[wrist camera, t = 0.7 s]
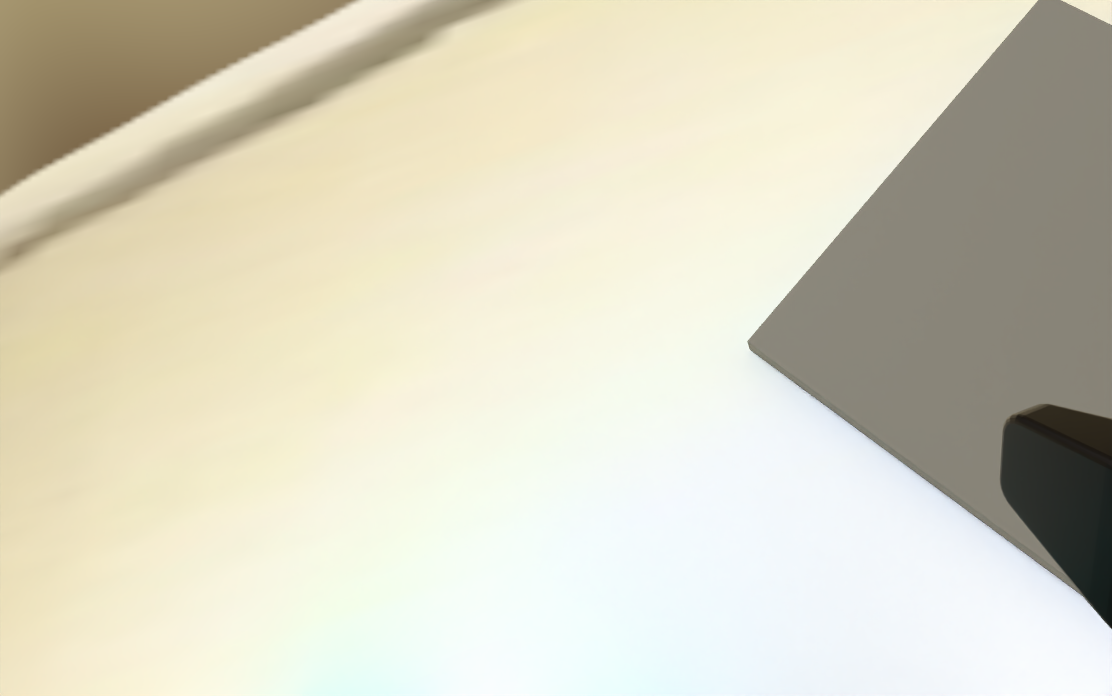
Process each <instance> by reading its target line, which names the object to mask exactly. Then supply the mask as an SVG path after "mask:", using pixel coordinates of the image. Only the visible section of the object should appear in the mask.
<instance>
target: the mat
mask: <svg viewBox="0 0 1112 696" xmlns="http://www.w3.org/2000/svg"><path fill="white" fill-rule="evenodd" d="M748 345H749V349H750V350H751V351H753V352H754V353H755V354H757V355H758V356H759V357H761V358H762V359H763V360H765V361H766V362H767V363H769V364H770V365H771V366H773V367H774V368H776V369H777V370H778V371H780V372H781V373H782V374H784V375H785V376H786V377H788V378H789V379H790V380H792V381H793V382H794V383H796V384H797V385H798V386H800V387H801V388H803V389H804V390H805V391H807V392H808V393H809V394H811V395H812V396H813V397H815V398H816V399H817V400H819V401H820V402H821V403H823V404H824V405H826V406H827V407H828V408H830V409H831V410H832V411H834V412H835V413H836V414H838V415H839V416H840V417H842V418H843V419H844V420H846V421H847V422H848V423H850V424H851V425H853V426H854V427H855V428H857V429H858V430H859V431H861V432H862V433H863V434H865V435H866V436H867V437H869V438H870V439H871V440H873V441H874V442H876V443H877V444H878V445H880V446H881V447H882V448H884V449H885V450H886V451H888V452H889V453H890V454H892V455H893V456H894V457H896V458H897V459H898V460H900V461H901V462H903V463H904V464H905V465H907V466H908V467H909V468H911V469H912V470H913V471H915V472H916V473H917V474H919V475H920V476H921V477H923V478H924V479H926V480H927V481H928V482H930V483H931V484H932V485H934V486H935V487H936V488H938V489H939V490H940V491H942V492H943V493H944V494H946V495H947V496H949V497H950V498H951V499H953V500H954V501H955V502H957V503H958V504H959V505H961V506H962V507H963V508H965V509H966V510H967V511H969V512H970V513H971V514H973V515H974V516H976V517H977V518H978V519H980V520H981V521H982V522H984V523H985V524H986V525H988V526H989V527H990V528H992V529H993V530H994V531H996V532H997V533H999V534H1000V535H1001V536H1003V537H1004V538H1005V539H1007V540H1008V541H1009V542H1011V543H1012V544H1013V545H1015V546H1016V547H1017V548H1019V549H1020V550H1021V551H1023V552H1024V553H1026V554H1027V555H1028V556H1030V557H1031V558H1032V559H1034V560H1035V561H1036V562H1038V563H1039V564H1040V565H1042V566H1043V567H1044V568H1046V569H1047V570H1049V571H1050V572H1051V573H1053V574H1054V575H1055V576H1057V577H1058V578H1059V579H1061V580H1062V581H1063V582H1065V583H1066V584H1067V585H1069V586H1070V587H1071V588H1073V589H1074V590H1076V591H1077V592H1078V593H1080V592H1079V590H1078V589H1077V588H1076V587H1075V586H1074V584H1073V583H1072V582H1071V581H1070V579H1069V578H1068V577H1067V576H1066V574H1065V573H1064V572H1063V571H1062V570H1061V568H1060V567H1059V566H1058V565H1057V563H1056V562H1055V561H1054V560H1053V558H1052V557H1051V556H1050V555H1049V554H1048V552H1047V551H1046V550H1045V549H1044V547H1043V546H1042V545H1041V544H1040V542H1039V541H1038V540H1037V539H1036V538H1035V536H1034V535H1033V534H1032V533H1031V531H1030V530H1029V529H1028V528H1027V526H1026V525H1025V524H1024V523H1023V522H1022V520H1021V519H1020V518H1019V517H1018V515H1017V514H1016V513H1015V512H1014V510H1013V509H1012V508H1011V507H1010V505H1009V504H1008V503H1007V501H1006V499H1005V497H1004V496H1003V493H1002V490H1001V487H1000V482H999V472H1000V456H1001V439H1002V428H1003V424H1004V422H1005V421H1006V419H1007V418H1008V417H1009V416H1010V415H1012V414H1015V413H1017V412H1020V411H1022V410H1025V409H1027V408H1030V407H1032V406H1035V405H1038V404H1053V405H1057V406H1061V407H1065V408H1070V409H1074V410H1078V411H1082V412H1086V413H1091V414H1095V415H1099V416H1103V417H1108V418H1112V25H1110V24H1108V23H1106V22H1104V21H1102V20H1100V19H1098V18H1096V17H1094V16H1092V15H1090V14H1088V13H1086V12H1084V11H1082V10H1080V9H1078V8H1076V7H1073V6H1071V5H1069V4H1067V3H1065V2H1063V1H1061V0H1038V1H1037V3H1036V4H1035V5H1034V6H1033V7H1032V8H1031V10H1030V11H1029V12H1028V13H1027V14H1026V15H1025V17H1024V18H1023V19H1022V20H1021V21H1020V22H1019V24H1018V25H1017V26H1016V27H1015V28H1014V29H1013V31H1012V32H1011V33H1010V34H1009V35H1008V37H1007V38H1006V39H1005V40H1004V41H1003V42H1002V44H1001V45H1000V46H999V47H998V48H997V49H996V51H995V52H994V53H993V54H992V55H991V56H990V58H989V59H988V60H987V61H986V62H985V63H984V65H983V66H982V67H981V68H980V69H979V71H978V72H977V73H976V74H975V75H974V76H973V78H972V79H971V80H970V81H969V82H968V83H967V85H966V86H965V87H964V88H963V89H962V90H961V92H960V93H959V94H958V95H957V96H956V97H955V99H954V100H953V101H952V102H951V103H950V105H949V106H948V107H947V108H946V109H945V110H944V112H943V113H942V114H941V115H940V116H939V117H938V119H937V120H936V121H935V122H934V123H933V124H932V126H931V127H930V128H929V129H928V130H927V131H926V133H925V134H924V135H923V136H922V137H921V139H920V140H919V141H918V142H917V143H916V144H915V146H914V147H913V148H912V149H911V150H910V151H909V153H908V154H907V155H906V156H905V157H904V158H903V160H902V161H901V162H900V163H899V164H898V165H897V167H896V168H895V169H894V170H893V171H892V173H891V174H890V175H889V176H888V177H887V178H886V180H885V181H884V182H883V183H882V184H881V185H880V187H879V188H878V189H877V190H876V191H875V192H874V194H873V195H872V196H871V197H870V198H869V199H868V201H867V202H866V203H865V204H864V205H863V207H862V208H861V209H860V210H859V211H858V212H857V214H856V215H855V216H854V217H853V218H852V219H851V221H850V222H849V223H848V224H847V225H846V226H845V228H844V229H843V230H842V231H841V232H840V233H839V235H838V236H837V237H836V238H835V239H834V241H833V242H832V243H831V244H830V245H829V246H828V248H827V249H826V250H825V251H824V252H823V253H822V255H821V256H820V257H819V258H818V259H817V260H816V262H815V263H814V264H813V265H812V266H811V267H810V269H809V270H808V271H807V272H806V273H805V275H804V276H803V277H802V278H801V279H800V280H799V282H798V283H797V284H796V285H795V286H794V287H793V289H792V290H791V291H790V292H789V293H788V294H787V296H786V297H785V298H784V299H783V300H782V301H781V303H780V304H779V305H778V306H777V307H776V309H775V310H774V311H773V312H772V313H771V314H770V316H769V317H768V318H767V319H766V320H765V321H764V323H763V324H762V325H761V326H760V327H759V328H758V330H757V331H756V332H755V333H754V334H753V335H752V337H751V338H750V339H749V340H748ZM1080 594H1081V593H1080ZM1081 595H1082V594H1081ZM1082 596H1083V595H1082Z"/></svg>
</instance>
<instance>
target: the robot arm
mask: <svg viewBox="0 0 1112 696" xmlns="http://www.w3.org/2000/svg"><path fill="white" fill-rule="evenodd" d="M999 482H1000V487H1001V490H1002V493H1003V496H1004V497H1005V499H1006V501H1007V503H1008V504H1009V505H1010V507H1011V508H1012V509H1013V510H1014V512H1015V513H1016V514H1017V515H1018V517H1019V518H1020V519H1021V520H1022V522H1023V523H1024V524H1025V525H1026V526H1027V528H1028V529H1029V530H1030V531H1031V533H1032V534H1033V535H1034V536H1035V538H1036V539H1037V540H1038V541H1039V542H1040V544H1041V545H1042V546H1043V547H1044V549H1045V550H1046V551H1047V552H1048V554H1049V555H1050V556H1051V557H1052V558H1053V560H1054V561H1055V562H1056V563H1057V565H1058V566H1059V567H1060V568H1061V570H1062V571H1063V572H1064V573H1065V574H1066V576H1067V577H1068V578H1069V579H1070V581H1071V582H1072V583H1073V584H1074V586H1075V587H1076V588H1077V589H1078V590H1079V592H1080V593H1081V594H1082V595H1083V597H1084V598H1085V599H1086V600H1087V602H1088V603H1089V604H1090V605H1091V606H1092V607H1093V608H1094V610H1095V611H1096V612H1097V613H1098V614H1099V615H1100V617H1101V618H1102V619H1103V620H1104V621H1105V622H1106V623H1107V624H1108V625H1109V627H1110V628H1111V629H1112V418H1108V417H1103V416H1099V415H1095V414H1091V413H1086V412H1082V411H1078V410H1074V409H1070V408H1065V407H1061V406H1057V405H1053V404H1038V405H1035V406H1032V407H1030V408H1027V409H1025V410H1022V411H1020V412H1017V413H1015V414H1012V415H1010V416H1009V417H1008V418H1007V419H1006V421H1005V422H1004V424H1003V428H1002V439H1001V456H1000V472H999Z"/></svg>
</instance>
